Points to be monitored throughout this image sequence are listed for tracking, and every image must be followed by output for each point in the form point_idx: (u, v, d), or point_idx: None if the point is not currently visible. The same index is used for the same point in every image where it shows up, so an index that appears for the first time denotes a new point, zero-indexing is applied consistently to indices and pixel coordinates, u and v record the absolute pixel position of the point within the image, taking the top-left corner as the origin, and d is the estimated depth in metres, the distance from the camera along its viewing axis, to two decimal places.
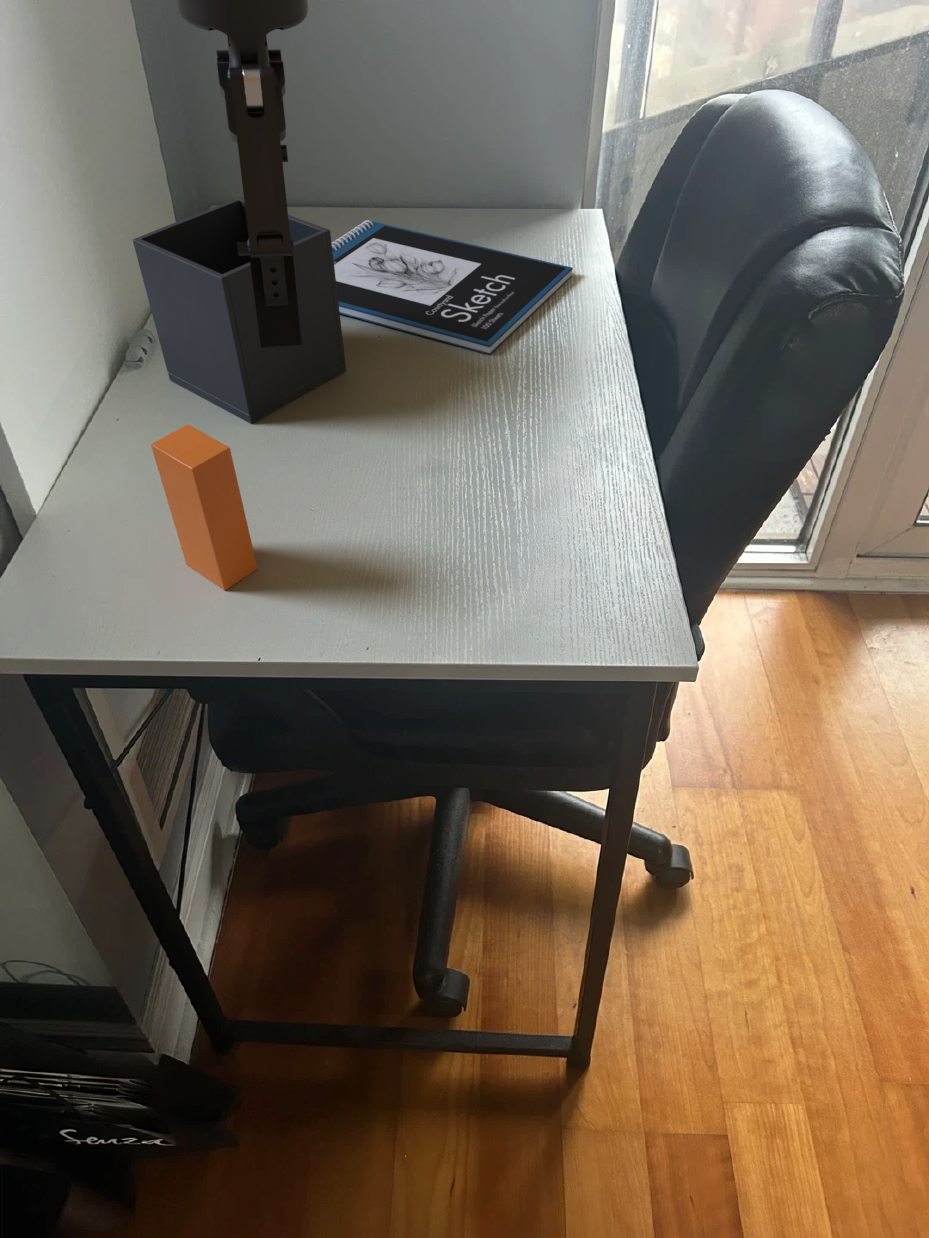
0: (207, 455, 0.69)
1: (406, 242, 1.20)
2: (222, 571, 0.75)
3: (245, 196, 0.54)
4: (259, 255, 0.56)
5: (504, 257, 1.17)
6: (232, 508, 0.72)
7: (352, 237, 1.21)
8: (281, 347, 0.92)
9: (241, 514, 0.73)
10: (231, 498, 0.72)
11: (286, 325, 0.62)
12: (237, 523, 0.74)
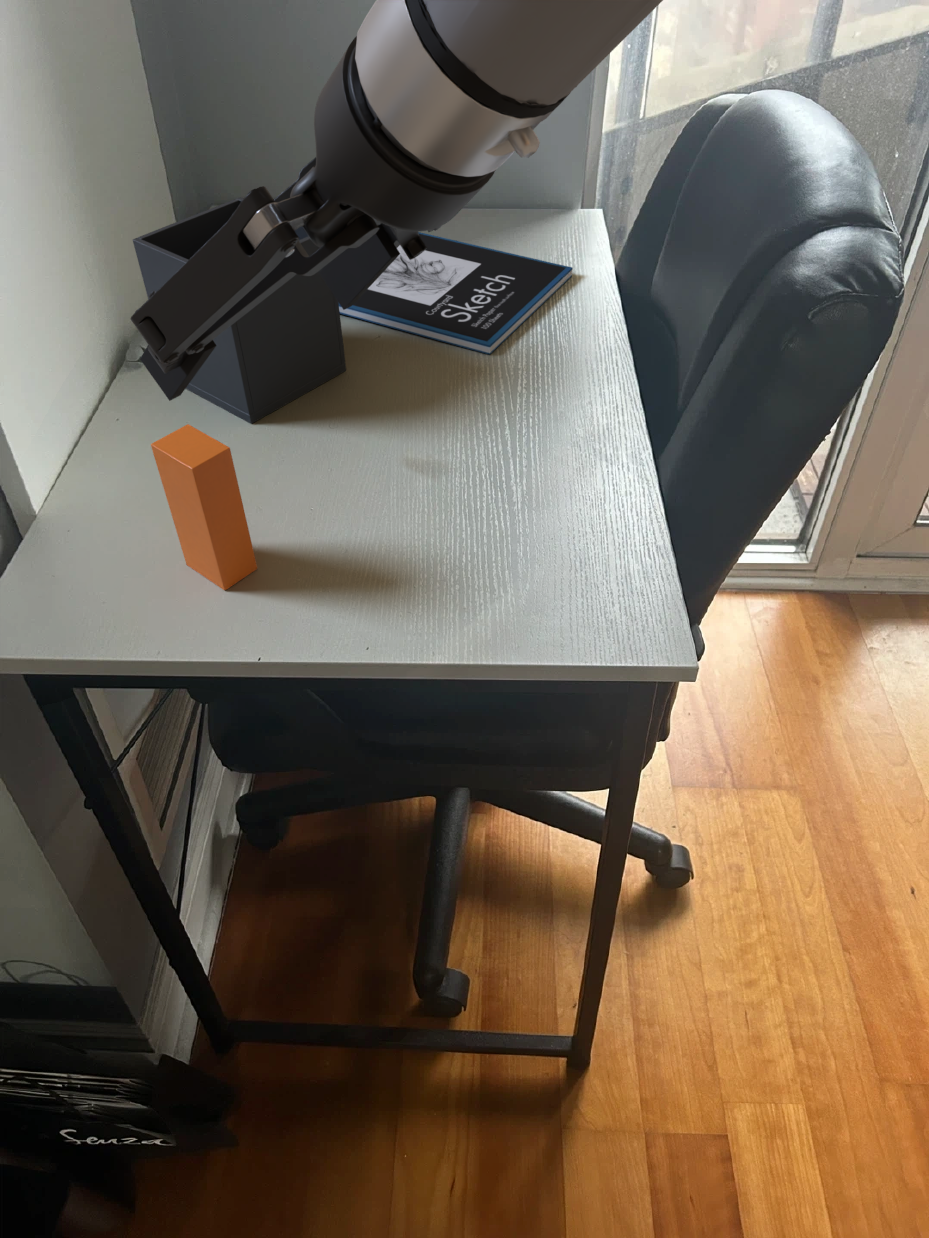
0: (207, 455, 0.69)
1: None
2: (222, 571, 0.75)
3: (169, 282, 0.42)
4: (138, 328, 0.44)
5: (504, 257, 1.17)
6: (232, 508, 0.72)
7: None
8: (281, 347, 0.92)
9: (241, 514, 0.73)
10: (231, 498, 0.72)
11: (167, 377, 0.51)
12: (237, 523, 0.74)
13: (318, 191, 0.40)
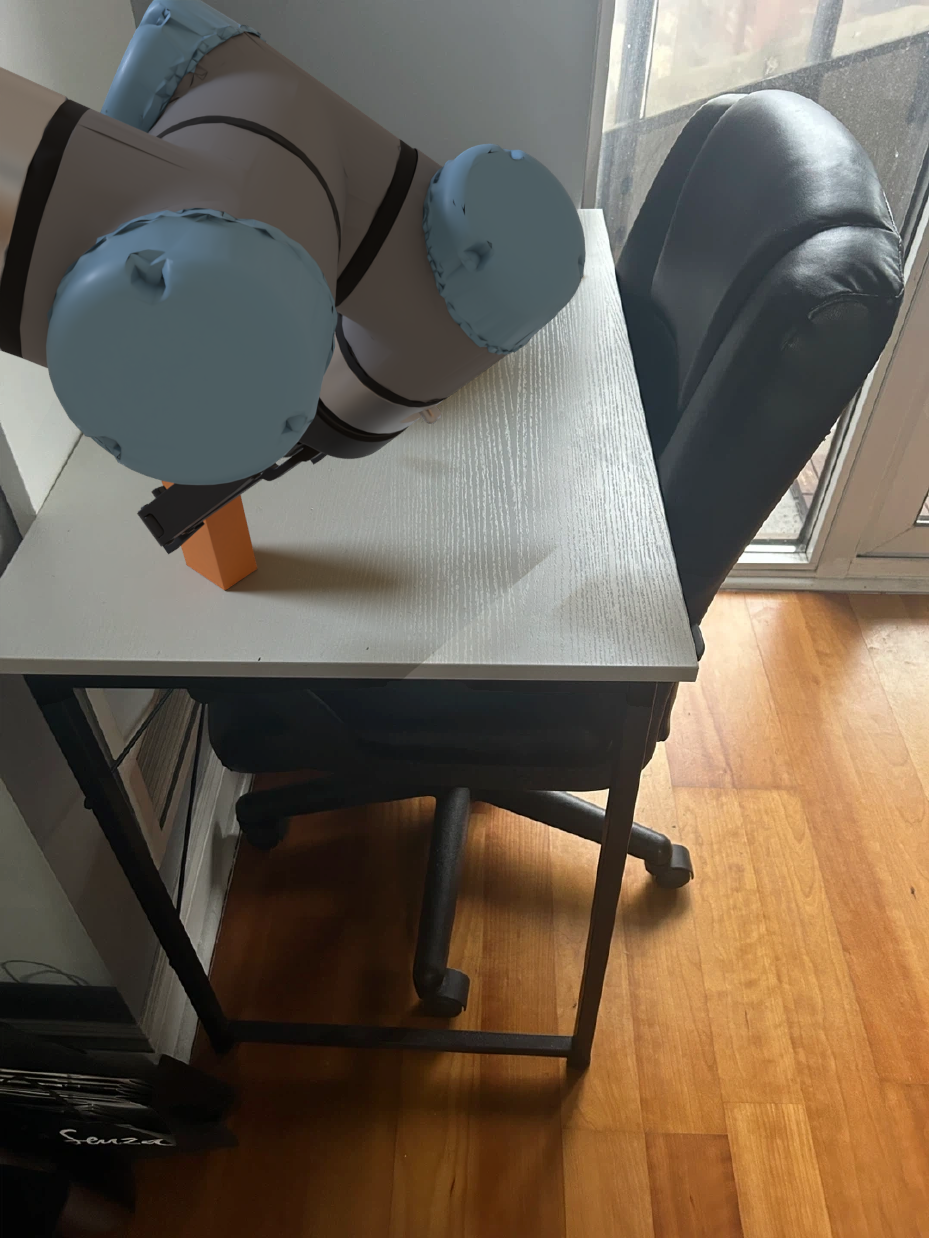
0: None
1: None
2: (222, 571, 0.75)
3: (167, 491, 0.55)
4: None
5: None
6: (232, 508, 0.72)
7: None
8: None
9: (241, 514, 0.73)
10: None
11: None
12: (237, 523, 0.74)
13: None
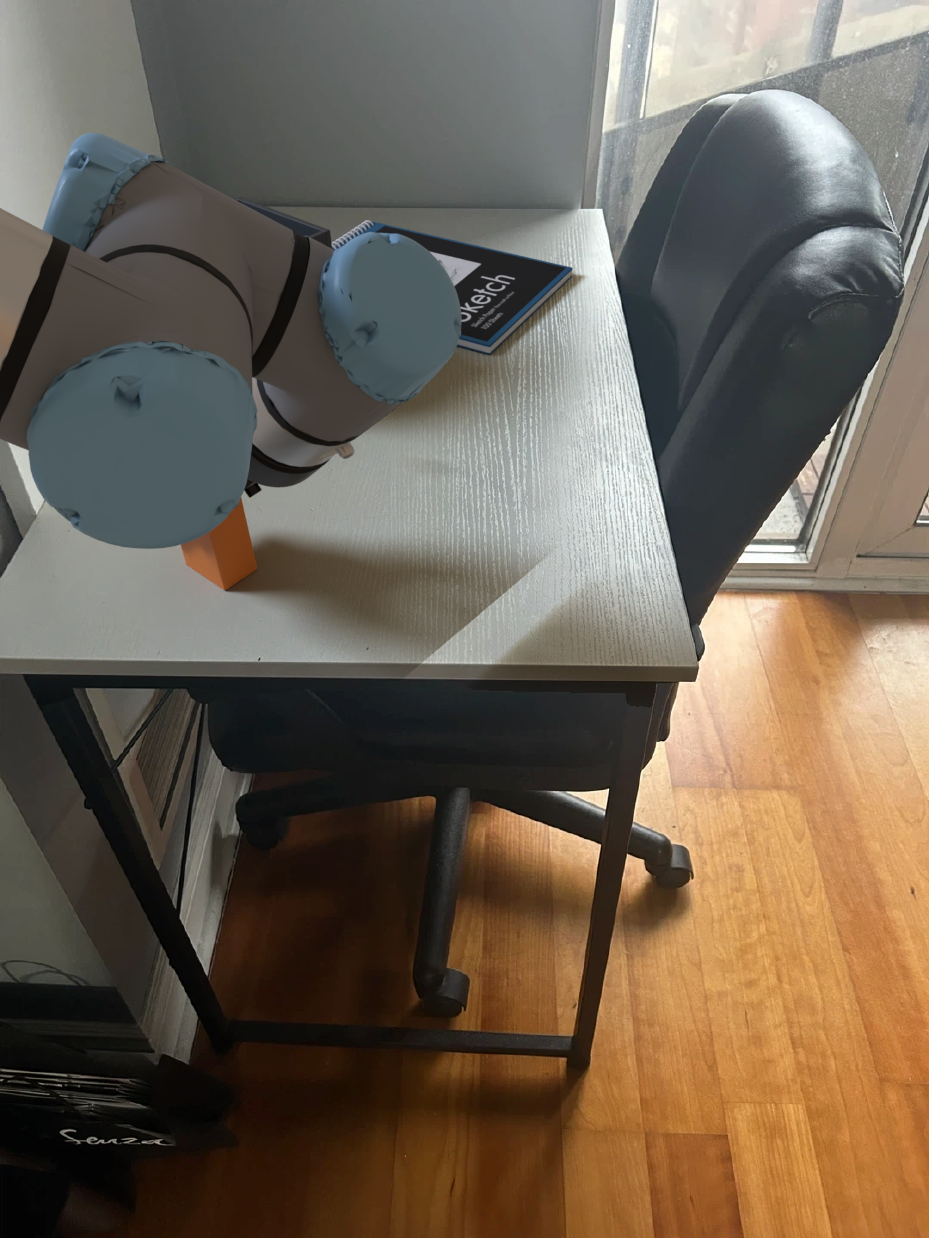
0: None
1: None
2: (222, 571, 0.75)
3: None
4: None
5: (504, 257, 1.17)
6: None
7: (352, 237, 1.21)
8: None
9: (241, 514, 0.73)
10: None
11: None
12: (237, 523, 0.74)
13: None
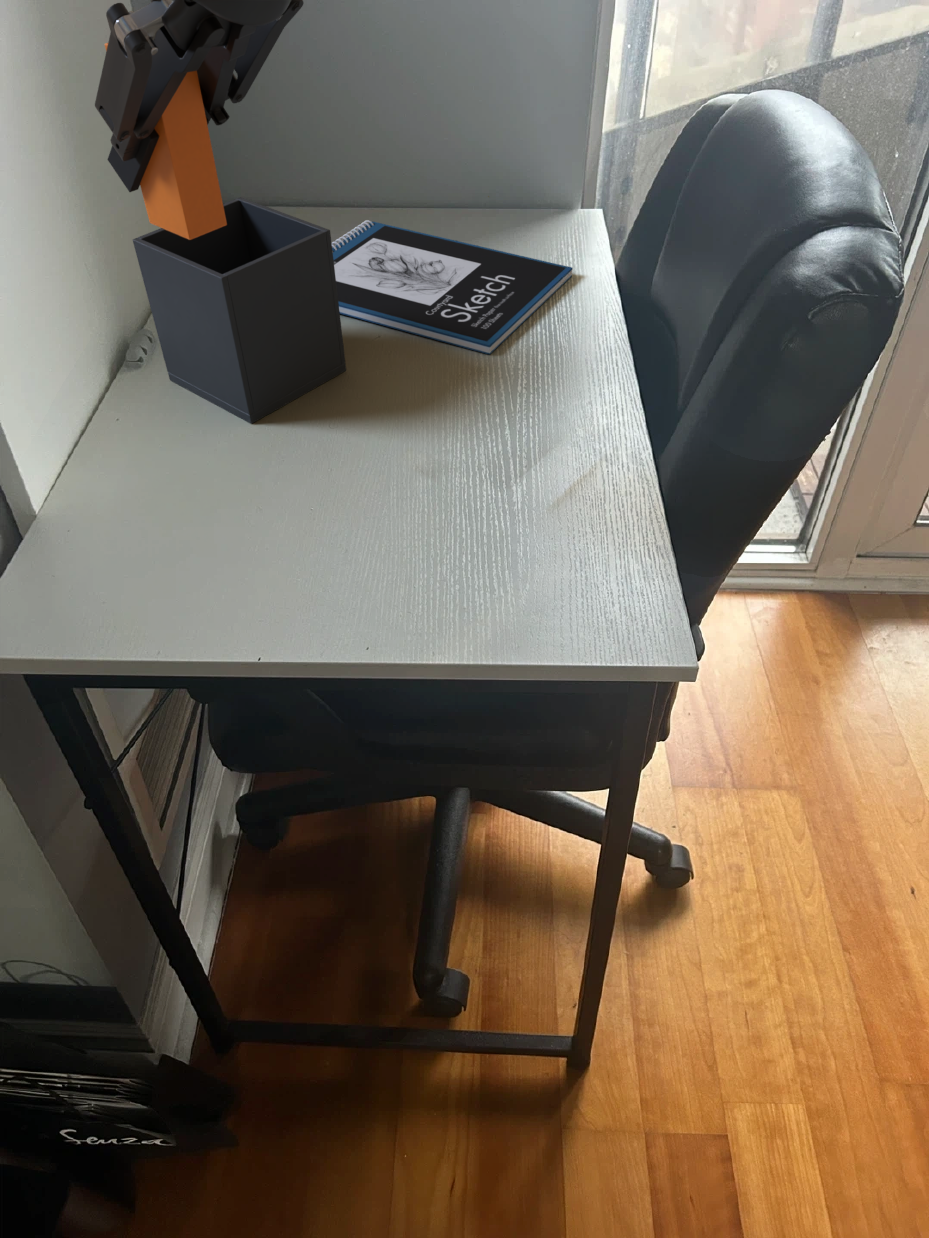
0: None
1: (406, 242, 1.20)
2: (186, 212, 0.68)
3: (101, 79, 0.59)
4: (100, 113, 0.62)
5: (504, 257, 1.17)
6: (196, 130, 0.66)
7: (352, 237, 1.21)
8: (281, 347, 0.92)
9: (206, 142, 0.67)
10: (194, 115, 0.65)
11: (127, 171, 0.68)
12: (202, 153, 0.67)
13: None
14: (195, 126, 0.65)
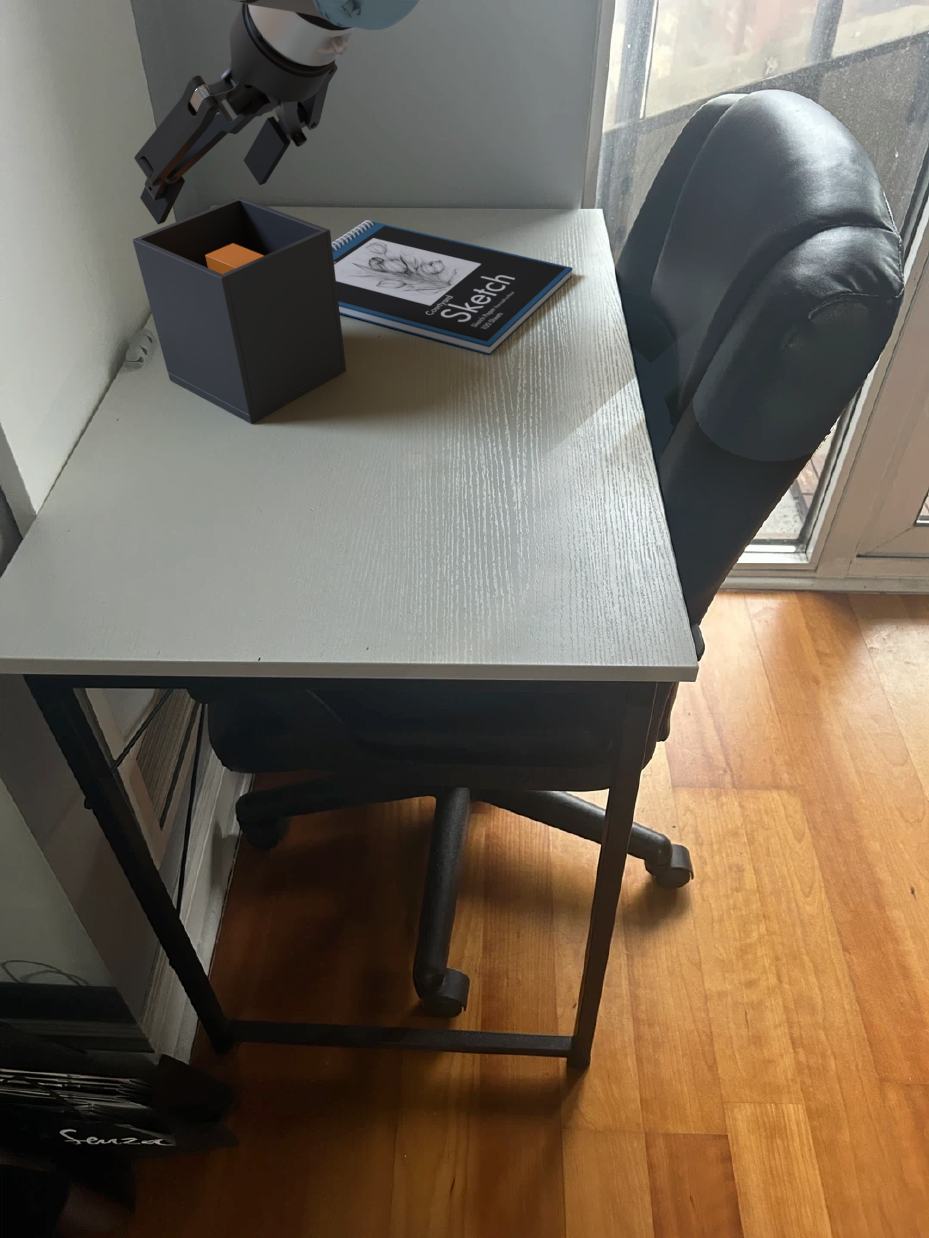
0: (249, 261, 0.90)
1: (406, 242, 1.20)
2: None
3: (153, 134, 0.75)
4: (138, 164, 0.77)
5: (504, 257, 1.17)
6: None
7: (352, 237, 1.21)
8: (281, 347, 0.92)
9: None
10: None
11: (156, 207, 0.83)
12: None
13: (233, 77, 0.72)
14: None
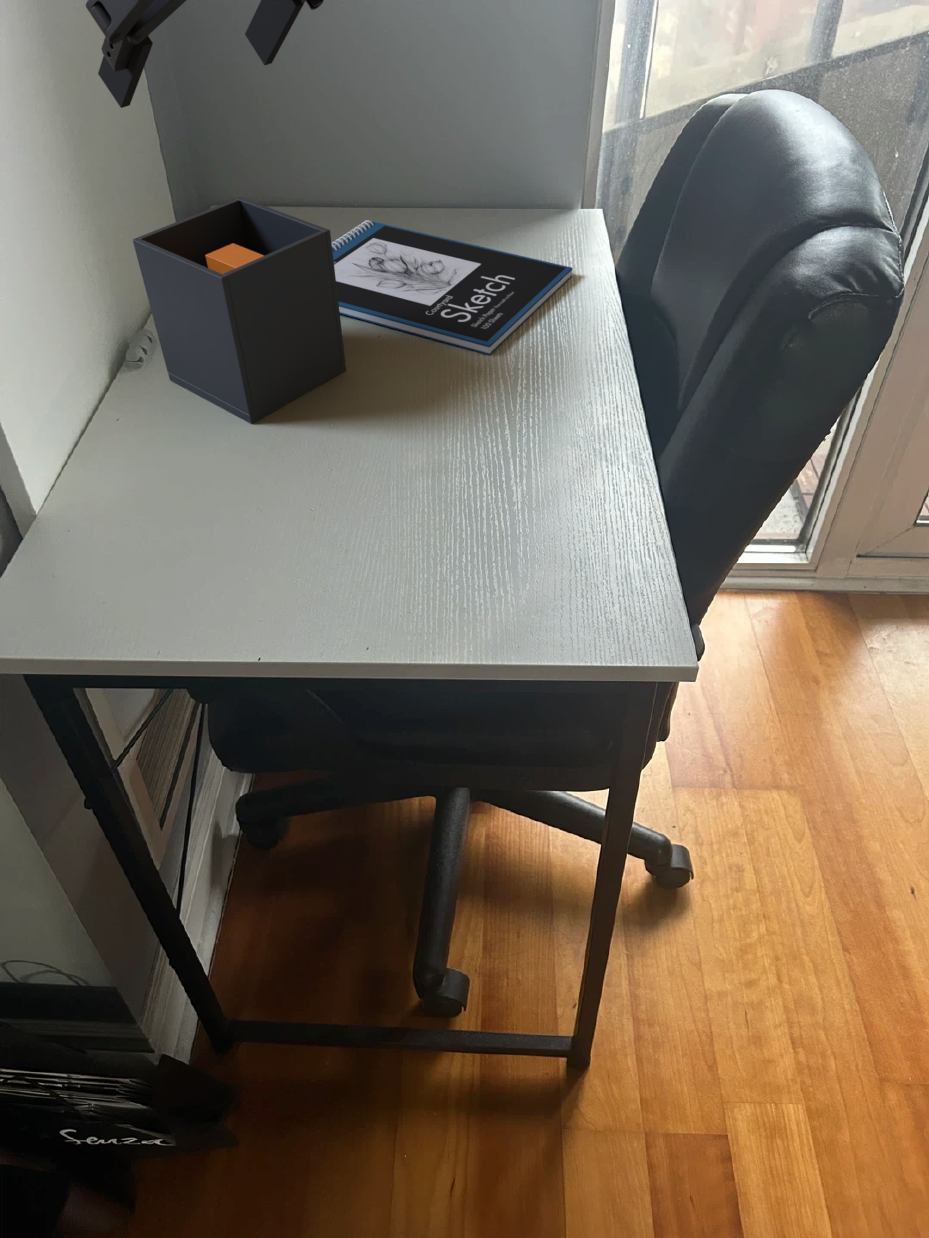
0: (250, 261, 0.90)
1: (406, 242, 1.20)
2: None
3: None
4: (91, 15, 0.60)
5: (504, 257, 1.17)
6: None
7: (352, 237, 1.21)
8: (281, 347, 0.92)
9: None
10: None
11: (118, 84, 0.66)
12: None
13: None
14: None
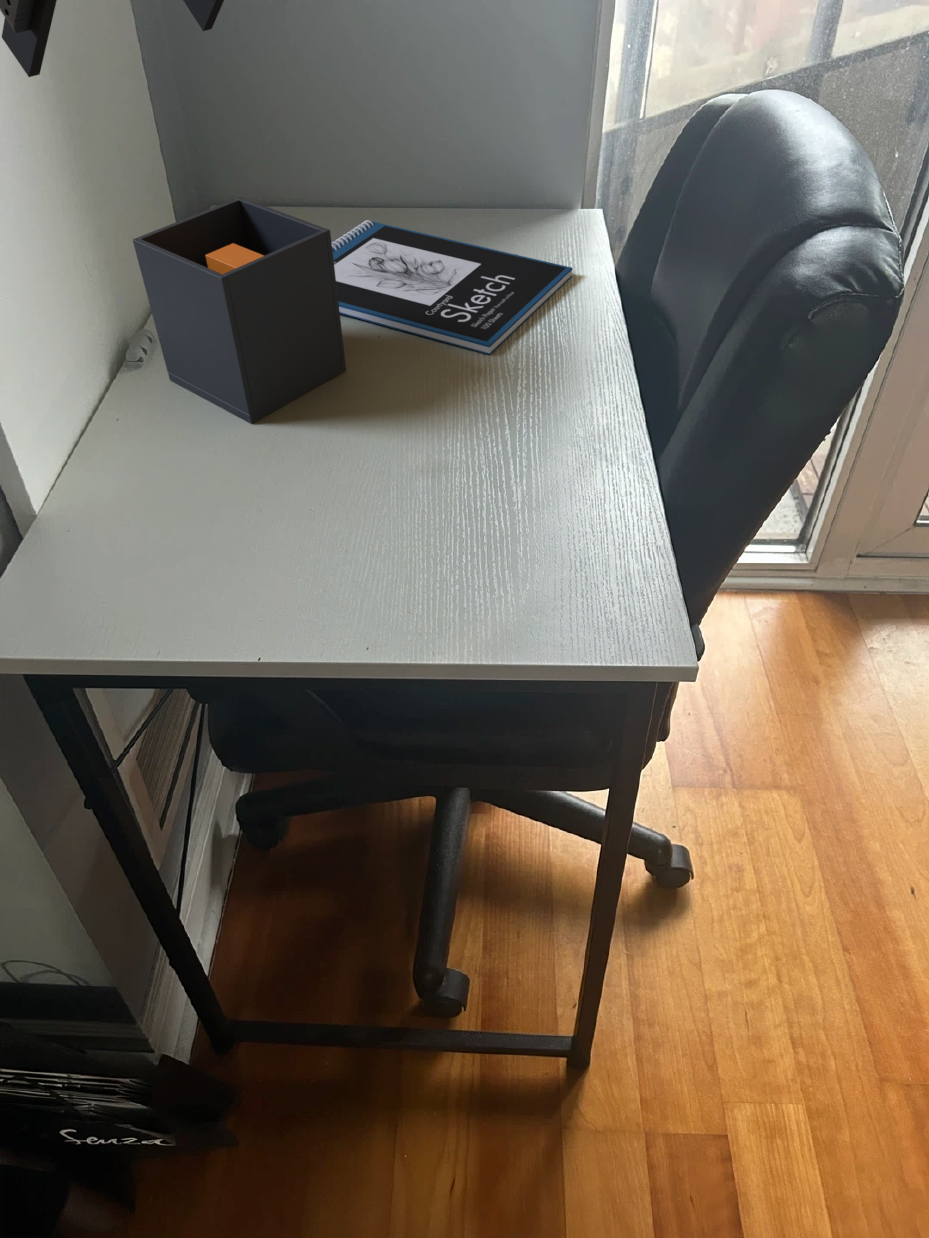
0: (250, 261, 0.90)
1: (406, 242, 1.20)
2: None
3: None
4: None
5: (504, 257, 1.17)
6: None
7: (352, 237, 1.21)
8: (281, 347, 0.92)
9: None
10: None
11: (23, 48, 0.57)
12: None
13: None
14: None
